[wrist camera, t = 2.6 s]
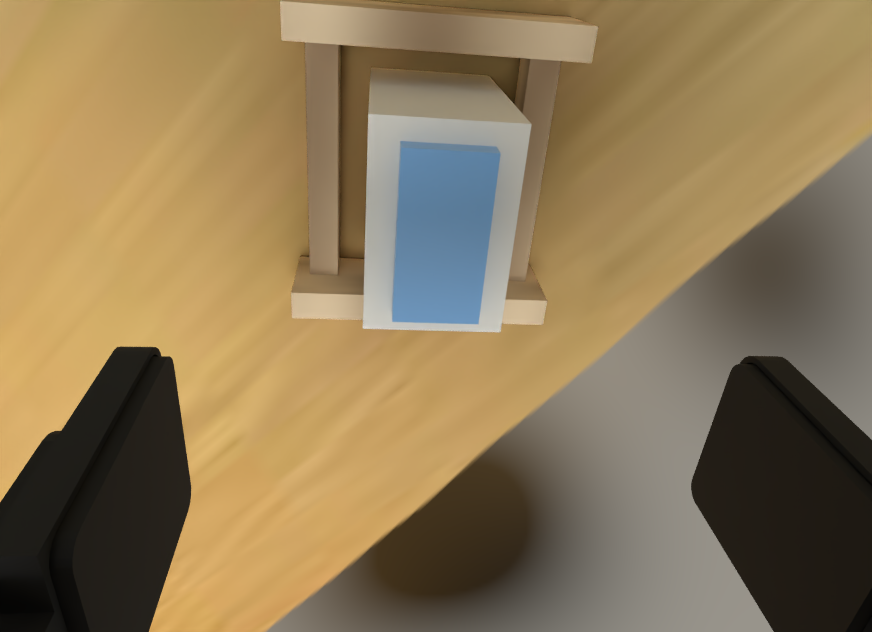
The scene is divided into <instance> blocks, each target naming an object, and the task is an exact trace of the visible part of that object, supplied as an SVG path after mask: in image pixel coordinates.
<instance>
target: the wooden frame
mask: <svg viewBox="0 0 872 632" xmlns="http://www.w3.org/2000/svg"><path fill="white" fill-rule="evenodd" d="M280 13H281V40H282V41H295V42H305V67H306V114H307V161H308V207H309V254H310V257H304V256H300V259H299V263H298V267H297V271H296V275H295V279H294V283H293V287H292V291H291V303H292V318H307V319H344V320H363V303H364V264H365V259H357V258H340V84H341V45H349V46H363V47H377V48H390V49H404V50H418V51H431V52H445V53H459V54H472V55H486V56H499V57H513V58H520V65H519V73H518V80H517V87H516V95H515V102H514V105H515V106H516V107H517V108H518V109H519V110H520V112H521V113H522V114H523V115H524V116H525V117H526V118H527V119H528V121H529V122H530V123H531V124H532V125H531V131H530V138H529V145H528V151H527V158H526V165H525V171H524V178H523V185H522V191H521V198H520V205H519V211H518V218H517V225H516V232H515V238H514V245H513V252H512V258H511V265H510V272H509V278H508V285H507V292H506V298H505V305H504V312H503V318H502V324H529V325H543V321H544V316H545V311H546V305H547V299H546V297H545V295H544V293H543V291H542V289H541V287H540V285H539V283H538V281H537V279H536V276H535V274H534V272H533V270H532V268H531V266H530V265H528V262H529V255H530V249H531V243H532V237H533V231H534V225H535V219H536V213H537V207H538V201H539V194H540V188H541V182H542V176H543V170H544V164H545V158H546V152H547V146H548V140H549V134H550V127H551V121H552V115H553V109H554V103H555V97H556V91H557V85H558V79H559V73H560V66H561V61H568V62H581V63H592V58H593V53H594V48H595V42H596V37H597V31H598V26H596V25H593V24H590V23H587V22H584V21H581V20H578V19H576V18H573V17H566V16H553V15H541V14H529V13H516V12H504V11H492V10H479V9H467V8H455V7H442V6H430V5H418V4H405V3H393V2H381V1H369V0H281V1H280Z"/></svg>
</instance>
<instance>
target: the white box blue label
mask: <svg viewBox="0 0 872 632" xmlns="http://www.w3.org/2000/svg"><path fill="white" fill-rule="evenodd" d="M531 125H532V124H531V123H530V122H529V121H528V119H527V118H526V117H525V116H524V115H523V114H522V113H521V112H520V110H519V109H518V108H517V107H516V106H515V105H514V104H513V102H512V101H511V100H510V99H509V98H508V97H507V96H506V94H505V93H504V92H503V91H502V90H501V89H500V88H499V86H498V85H497V84H496V83H495V82H494V81H493V80H492V79H491V77H490V76H489V75H475V74H461V73H447V72H432V71H418V70H404V69H390V68H375V67H371V75H370V93H369V111H368V146H367V185H366V224H365V264H364V303H363V329H394V330H432V331H470V332H501V325H502V318H503V312H504V305H505V298H506V292H507V285H508V278H509V272H510V265H511V258H512V252H513V245H514V238H515V232H516V225H517V218H518V211H519V205H520V198H521V191H522V185H523V178H524V171H525V165H526V158H527V151H528V145H529V138H530V131H531Z"/></svg>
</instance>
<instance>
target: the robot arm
mask: <svg viewBox="0 0 872 632" xmlns="http://www.w3.org/2000/svg"><path fill="white" fill-rule="evenodd" d="M691 490H692V495H693V499H694V501H695V503H696V505H697V506H698V508H699V510H700V511H701V513H702V514H703V516H704V518H705V519H706V521H707V523H708V524H709V526H710V527H711V529H712V531H713V533H714V534H715V536H716V537H717V539H718V541H719V542H720V544H721V546H722V547H723V549H724V551H725V552H726V554H727V555H728V557H729V559H730V560H731V562H732V564H733V565H734V567H735V569H736V570H737V572H738V574H739V575H740V577H741V579H742V580H743V582H744V583H745V585H746V587H747V588H748V590H749V592H750V593H751V595H752V597H753V598H754V600H755V602H756V603H757V605H758V606H759V608H760V610H761V611H762V613H763V615H764V616H765V618H766V620H767V621H768V623H769V625H770V626H771V628H772V629H773V631H774V632H872V440H871V439H870V438H869V437H868V436H867V435H866V434H865V433H864V432H863V431H862V430H861V429H860V428H859V427H857V426H856V425H855V424H854V423H853V422H852V421H851V420H850V419H849V418H848V417H847V416H846V415H845V414H844V413H843V412H842V411H841V410H839V409H838V408H837V407H836V406H835V405H834V404H833V403H832V402H831V401H830V400H829V399H828V398H827V397H826V396H825V395H823V394H822V393H821V392H820V391H819V390H818V389H817V388H816V387H815V386H814V385H813V384H812V383H811V382H810V381H809V380H807V379H806V378H805V377H804V376H803V375H802V374H801V373H800V372H799V371H798V370H797V369H796V368H795V367H794V366H793V365H792V364H791V363H790V362H788V360H786V359H784V358H783V357H775V356H774V357H773V356H748V357H745V358H744V359H743V360H742V361H741V362H740V364H738V365H735V366H734V367H733V368H732V370H731V372H730V375H729V378H728V380H727V383H726V386H725V389H724V392H723V394H722V397H721V400H720V403H719V405H718V408H717V411H716V414H715V417H714V420H713V422H712V426H711V428H710V431H709V434H708V437H707V439H706V442H705V445H704V448H703V450H702V453H701V456H700V459H699V462H698V465H697V467H696V470H695V473H694V476H693V479H692V483H691ZM190 499H191V482H190V475H189V468H188V461H187V454H186V447H185V440H184V433H183V426H182V419H181V412H180V405H179V398H178V391H177V384H176V377H175V370H174V364H173V360H172V358H171V357H161V353H160V351H159V349H158V348H156V347H117V348H116V349H115V350H114V351H113V353H112V354H111V356H110V357H109V359H108V360H107V362H106V363H105V365H104V366H103V368H102V370H101V371H100V373H99V374H98V376H97V377H96V379H95V380H94V382H93V383H92V385H91V386H90V388H89V389H88V391H87V392H86V394H85V396H84V397H83V399H82V400H81V402H80V403H79V405H78V406H77V408H76V409H75V411H74V412H73V414H72V415H71V417H70V419H69V420H68V422H67V423H66V425H65V426H64V428H63V429H62V431H54V432H52V433H50V434H48V435H47V436H46V437H45V438H44V440H43V441H42V442H41V443H40V445H39V446H38V448H37V449H36V451H35V452H34V454H33V455H32V457H31V458H30V460H29V461H28V463H27V464H26V465H25V467H24V468H23V470H22V471H21V473H20V474H19V476H18V477H17V479H16V480H15V482H14V483H13V485H12V486H11V488H10V489H9V491H8V492H7V493H6V495H5V496H4V498H3V499H2V501H1V502H0V632H149V629H150V626H151V623H152V620H153V617H154V614H155V611H156V608H157V604H158V601H159V598H160V595H161V592H162V589H163V586H164V583H165V580H166V577H167V574H168V571H169V568H170V565H171V562H172V558H173V555H174V552H175V549H176V546H177V543H178V540H179V537H180V534H181V531H182V528H183V525H184V522H185V519H186V516H187V513H188V509H189V505H190Z"/></svg>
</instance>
